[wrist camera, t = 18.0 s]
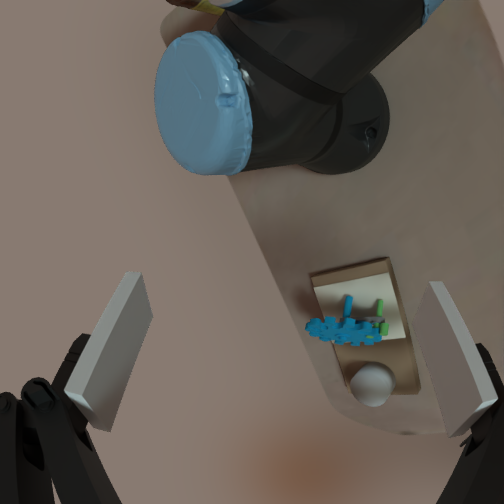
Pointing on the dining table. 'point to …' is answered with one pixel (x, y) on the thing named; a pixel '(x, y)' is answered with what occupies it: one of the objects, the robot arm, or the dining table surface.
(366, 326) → the gear
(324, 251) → the dining table surface
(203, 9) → the sauce bottle
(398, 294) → the wooden board
